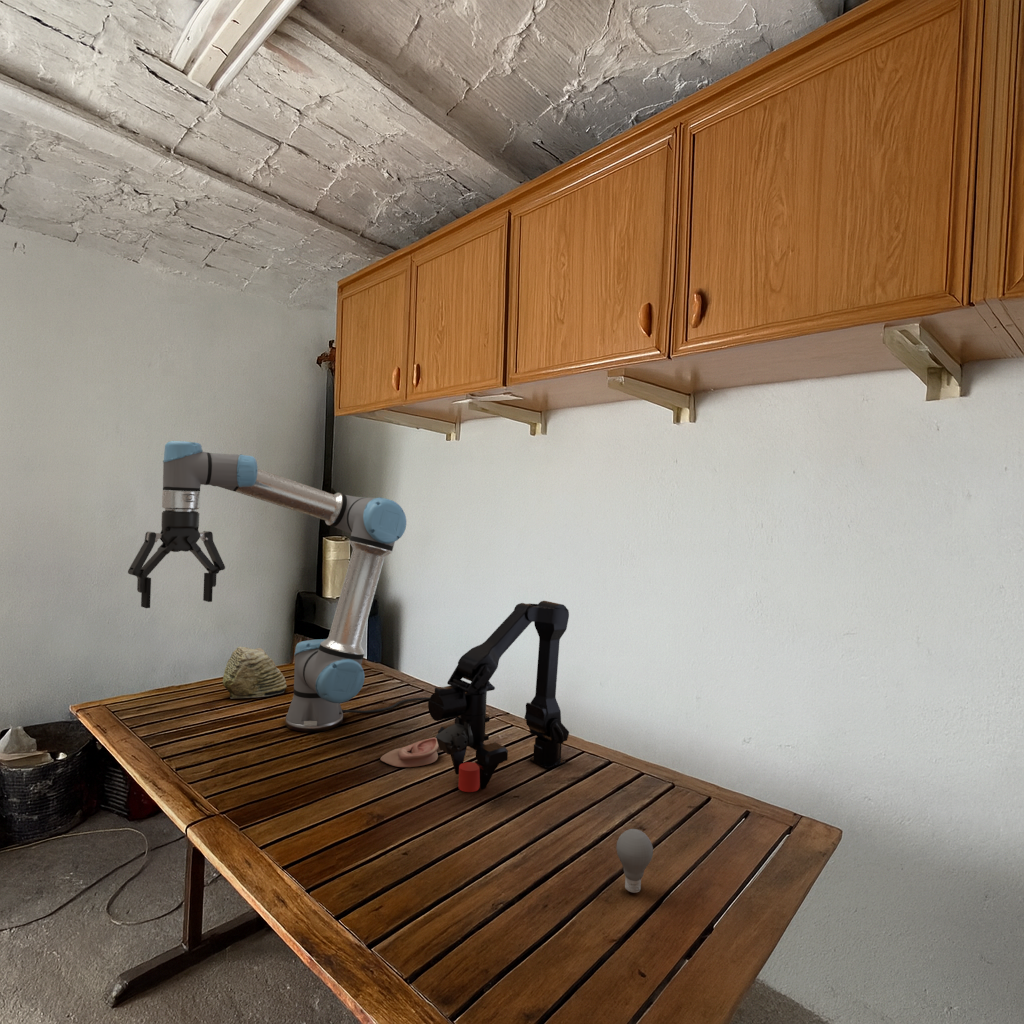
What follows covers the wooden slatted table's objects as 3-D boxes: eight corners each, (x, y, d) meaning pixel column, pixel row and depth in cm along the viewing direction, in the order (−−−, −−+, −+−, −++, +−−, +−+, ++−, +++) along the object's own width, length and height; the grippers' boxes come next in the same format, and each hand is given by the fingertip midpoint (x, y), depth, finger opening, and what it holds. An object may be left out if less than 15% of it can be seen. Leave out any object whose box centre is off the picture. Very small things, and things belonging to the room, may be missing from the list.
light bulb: (610, 879, 108) (613, 822, 108) (644, 879, 109) (647, 822, 109) (619, 902, 102) (622, 840, 102) (655, 901, 103) (658, 840, 103)
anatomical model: (375, 747, 151) (394, 730, 162) (374, 764, 151) (393, 746, 162) (428, 754, 148) (443, 736, 159) (427, 771, 148) (443, 752, 159)
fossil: (218, 695, 195) (220, 647, 195) (278, 685, 208) (279, 640, 207) (228, 703, 189) (230, 653, 188) (289, 692, 201) (290, 645, 201)
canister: (470, 794, 138) (471, 772, 138) (453, 787, 141) (454, 766, 140) (483, 786, 142) (484, 765, 142) (467, 780, 144) (468, 760, 144)
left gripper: (127, 510, 130) (124, 612, 131) (242, 511, 150) (239, 600, 151) (112, 508, 135) (109, 607, 135) (226, 510, 155) (223, 596, 155)
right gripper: (419, 706, 142) (416, 775, 143) (469, 732, 128) (466, 808, 129) (459, 698, 150) (456, 763, 150) (510, 721, 136) (507, 793, 136)
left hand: (177, 604), depth 143 cm, fingers open, 13 cm apart
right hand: (470, 781), depth 141 cm, fingers open, 9 cm apart
